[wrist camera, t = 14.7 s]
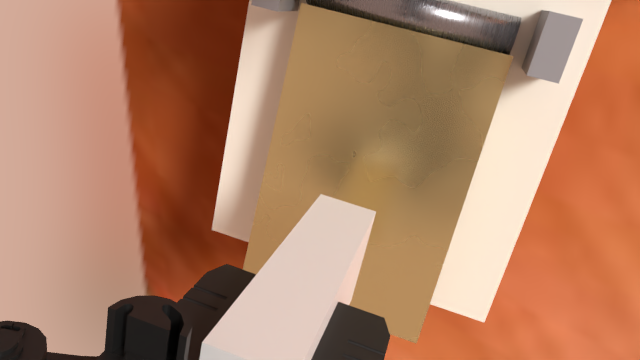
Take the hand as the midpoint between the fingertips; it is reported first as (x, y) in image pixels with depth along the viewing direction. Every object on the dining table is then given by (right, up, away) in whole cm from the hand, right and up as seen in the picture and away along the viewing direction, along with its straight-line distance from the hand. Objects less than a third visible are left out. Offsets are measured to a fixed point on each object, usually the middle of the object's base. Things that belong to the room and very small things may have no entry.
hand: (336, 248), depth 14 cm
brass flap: (+1, +2, +3) cm, 4 cm away
